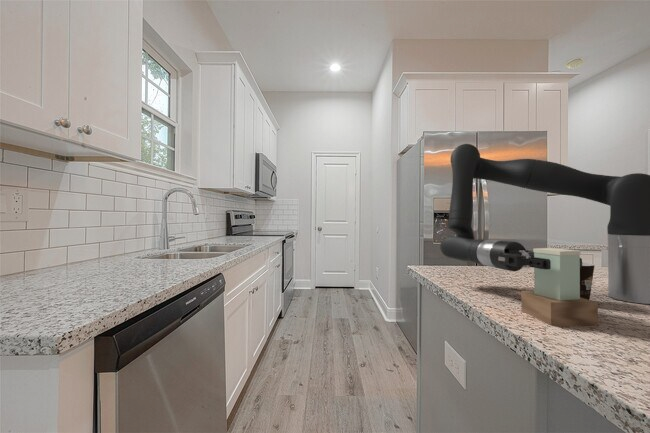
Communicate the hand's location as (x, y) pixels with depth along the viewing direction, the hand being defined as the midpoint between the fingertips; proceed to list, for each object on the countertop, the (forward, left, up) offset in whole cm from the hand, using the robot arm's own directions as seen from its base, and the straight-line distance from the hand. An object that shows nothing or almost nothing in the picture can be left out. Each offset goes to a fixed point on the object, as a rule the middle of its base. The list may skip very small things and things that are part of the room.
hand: (565, 263), depth 58 cm
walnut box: (0, -2, -12) cm, 12 cm away
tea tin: (0, -2, -7) cm, 8 cm away
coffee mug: (-15, -11, -12) cm, 22 cm away
